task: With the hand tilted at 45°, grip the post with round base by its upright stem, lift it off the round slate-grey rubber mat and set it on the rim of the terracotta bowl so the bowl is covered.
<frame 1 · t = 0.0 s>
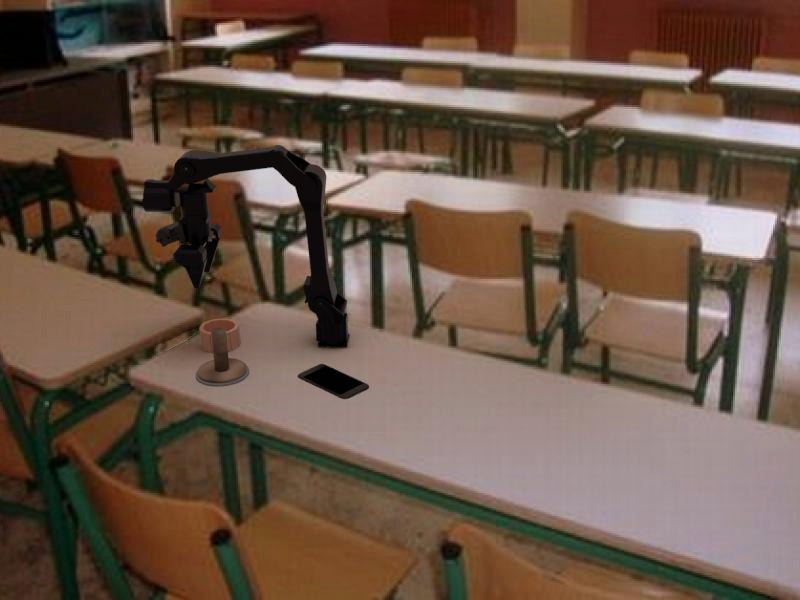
hand: (201, 279, 209), 15 cm above the table, fingers open, 9 cm apart
mat: (222, 373, 200), on the table
smartphone: (333, 384, 196), on the table
post with round base: (222, 372, 200), resting on mat
bowl: (220, 344, 213), on the table
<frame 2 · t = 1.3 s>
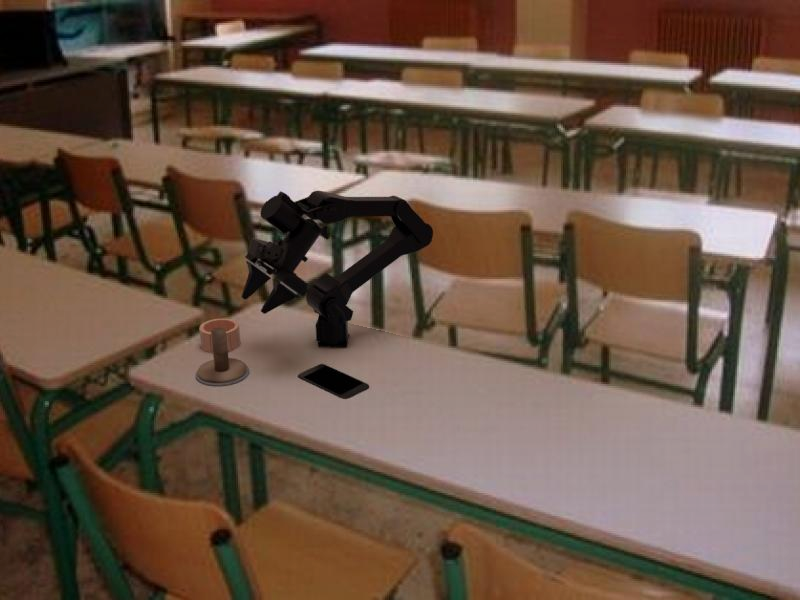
hand: (252, 305, 199), 13 cm above the table, fingers open, 9 cm apart
nothing on the table moved.
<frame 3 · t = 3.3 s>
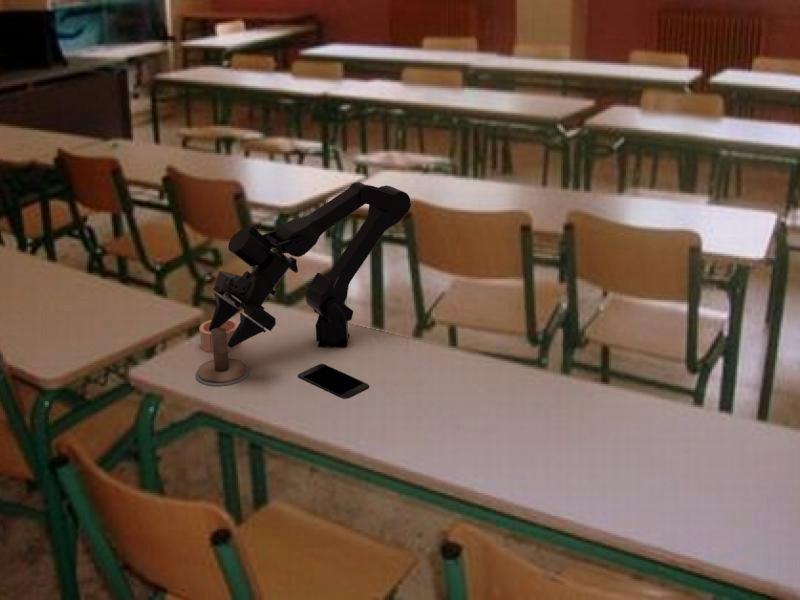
hand: (219, 338, 197), 8 cm above the table, fingers open, 9 cm apart
nothing on the table moved.
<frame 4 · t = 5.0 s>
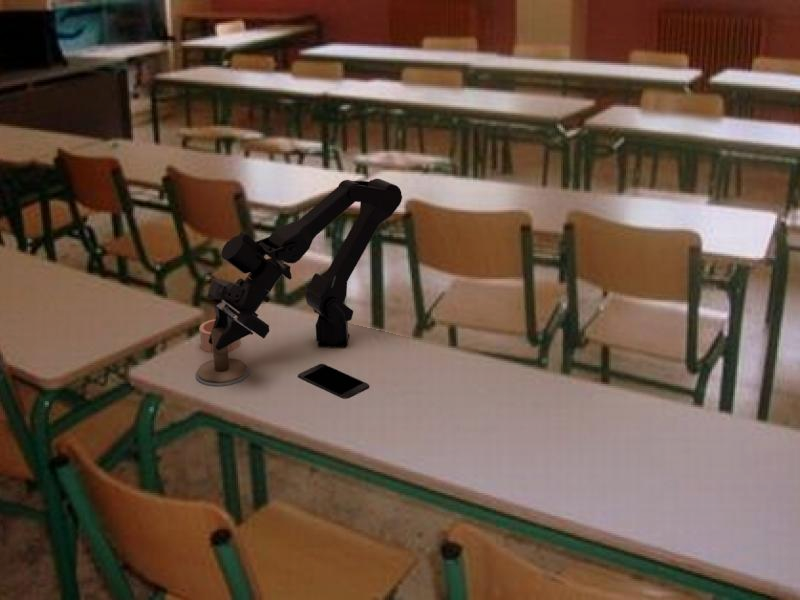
hand: (213, 346, 196), 7 cm above the table, fingers closed on post with round base, 3 cm apart
post with round base: (222, 372, 200), resting on mat, touching gripper
everything else where it was.
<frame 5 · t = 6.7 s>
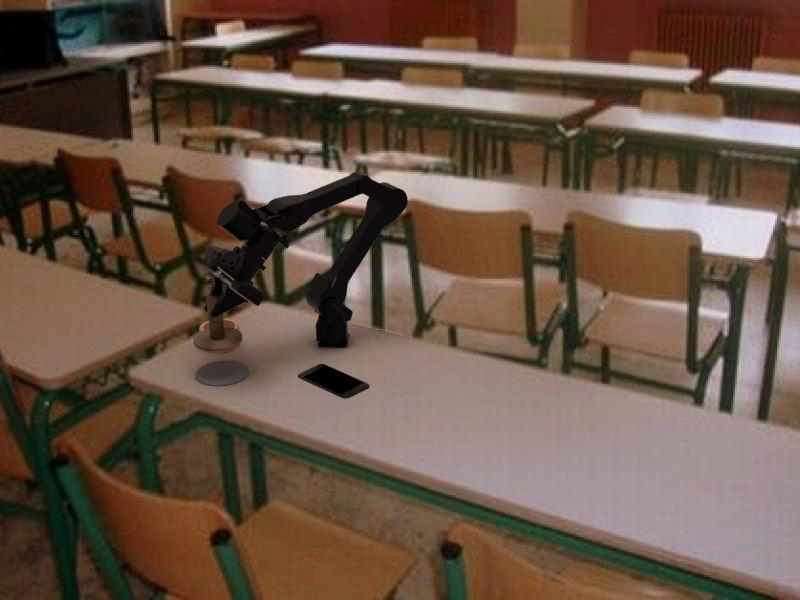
hand: (208, 313, 195), 13 cm above the table, fingers closed on post with round base, 3 cm apart
post with round base: (218, 340, 198), point 7 cm above the table, touching gripper
everything else where it was.
when the fingers open (12 cm above the table, at t = 8.8 s): post with round base drops 1 cm, resting on bowl.
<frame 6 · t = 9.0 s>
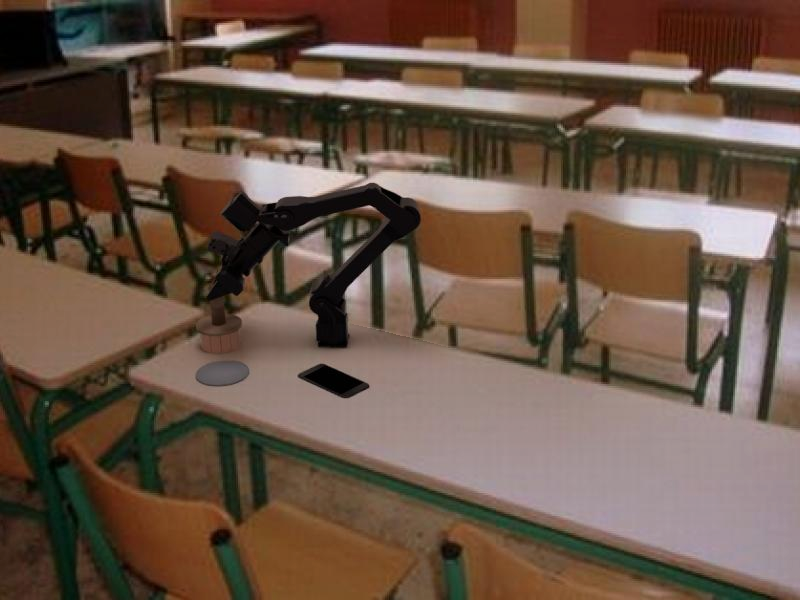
hand: (209, 294, 208), 12 cm above the table, fingers open, 5 cm apart
post with round base: (219, 326, 211), point 4 cm above the table, touching bowl
everything else where it was.
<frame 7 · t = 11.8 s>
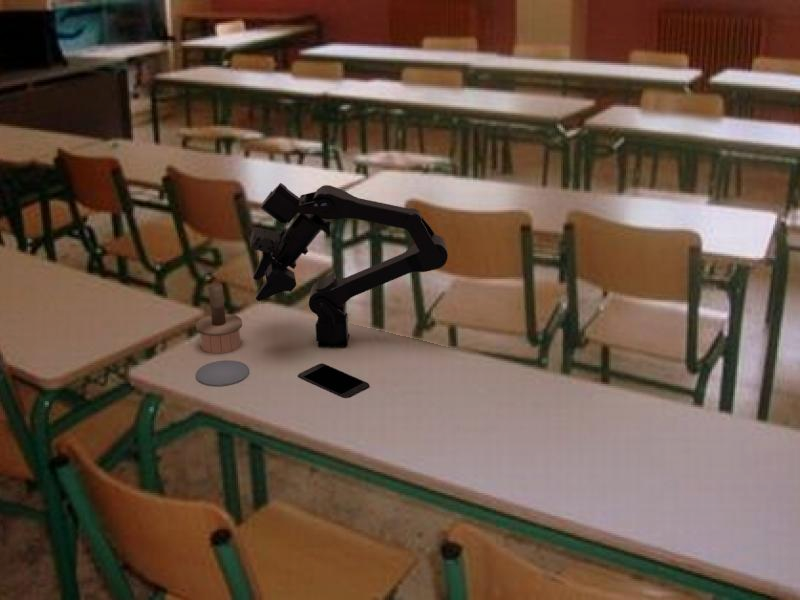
hand: (256, 289, 208), 13 cm above the table, fingers open, 9 cm apart
nothing on the table moved.
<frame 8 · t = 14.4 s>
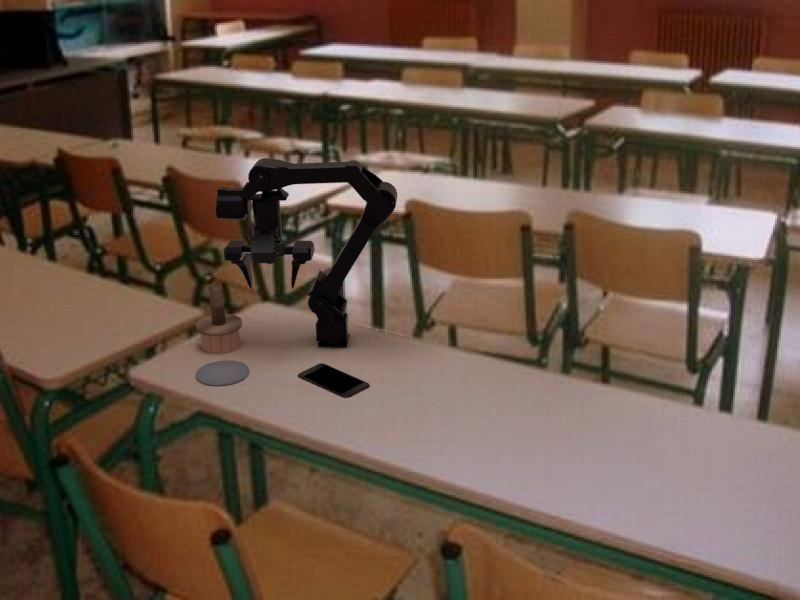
hand: (272, 287, 209), 13 cm above the table, fingers open, 9 cm apart
nothing on the table moved.
at the end: post with round base 0.0 cm from the bowl (horizontally); post with round base point 4.5 cm above the table; post with round base tilted 0° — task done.
